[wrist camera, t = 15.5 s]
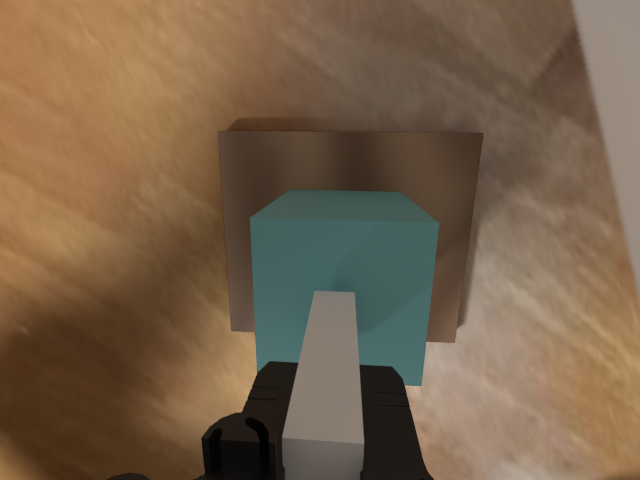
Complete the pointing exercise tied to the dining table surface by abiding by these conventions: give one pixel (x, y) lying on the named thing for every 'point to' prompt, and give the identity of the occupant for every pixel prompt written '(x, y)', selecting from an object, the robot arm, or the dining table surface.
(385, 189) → the peg base
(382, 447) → the robot arm
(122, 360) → the dining table surface
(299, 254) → the teal toy cube
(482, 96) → the dining table surface
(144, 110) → the dining table surface
